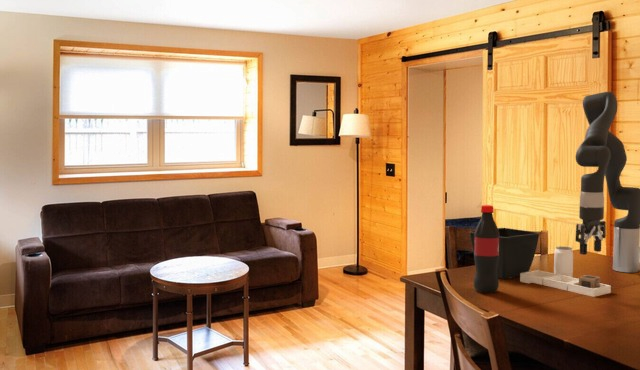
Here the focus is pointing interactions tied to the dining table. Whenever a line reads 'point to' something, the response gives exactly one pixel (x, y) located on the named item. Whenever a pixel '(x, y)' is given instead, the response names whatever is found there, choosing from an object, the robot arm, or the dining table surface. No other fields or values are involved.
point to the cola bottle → (486, 252)
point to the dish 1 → (535, 276)
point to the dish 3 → (589, 289)
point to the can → (563, 261)
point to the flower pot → (514, 251)
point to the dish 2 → (559, 281)
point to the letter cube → (589, 281)
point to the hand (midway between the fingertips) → (590, 252)
